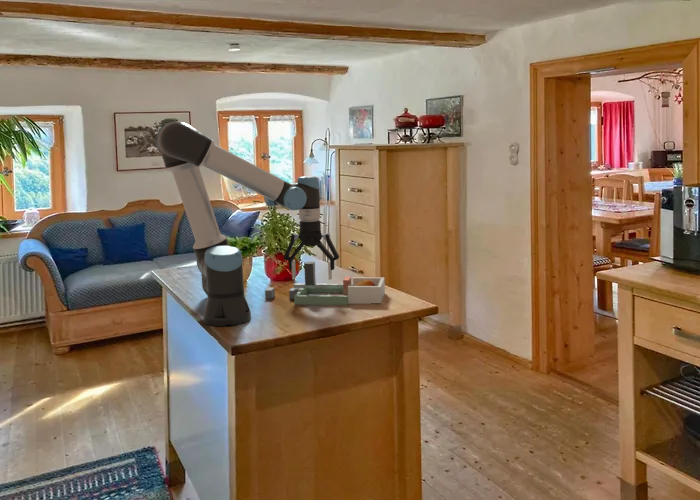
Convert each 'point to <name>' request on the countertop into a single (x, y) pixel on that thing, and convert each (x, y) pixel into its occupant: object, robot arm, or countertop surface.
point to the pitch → (311, 296)
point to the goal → (366, 291)
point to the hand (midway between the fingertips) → (312, 278)
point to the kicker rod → (311, 283)
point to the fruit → (365, 283)
